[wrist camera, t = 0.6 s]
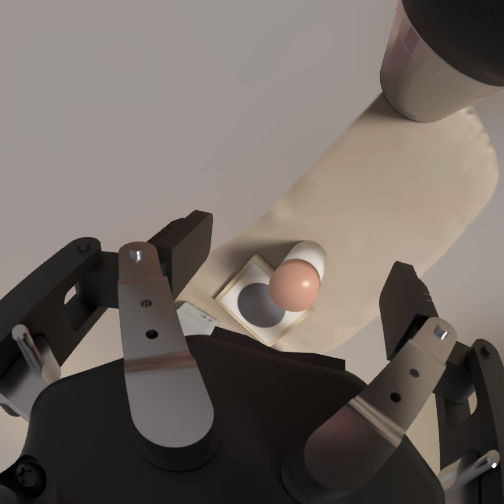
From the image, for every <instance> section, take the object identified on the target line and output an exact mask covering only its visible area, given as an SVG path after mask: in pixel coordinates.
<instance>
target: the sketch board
mask: <svg viewBox="0 0 504 504" xmlns="http://www.w3.org/2000/svg"><path fill="white" fill-rule="evenodd" d="M274 272H275V270H274V269H273V268H272V267H271V266H270V265H269V264H267V263H266V262H265V261H264V260H263V259H262V258H261V257H260V256H259V255H258V254H257V253H256V254H255V255H254V256H253V257H252V258H251V259H250V260H249V262H248V263H247V264H246V265H245V266H244V267H243V268H242V269H241V270H240V272H239V273H238V274H237V275H236V276H235V277H234V278H233V279H232V280H231V282H230V283H229V284H228V285H227V286H226V287H225V288H224V289H223V291H222V292H221V293H220V294H219V295H218V296H217V297H216V298H215V299H214V300H215V301H216V302H217V303H218V304H219V305H221V306H222V307H223V308H224V309H225V310H226V311H227V312H228V313H229V314H230V315H231V316H232V317H234V318H235V319H236V320H237V321H238V322H239V323H240V324H241V325H242V326H243V327H245V328H246V329H247V330H248V331H249V332H250V333H251V334H252V335H253V336H255V337H256V338H257V339H258V340H259V341H260V342H261V343H263V344H265V345H267V346H269V347H270V346H271V345H273V344H274V343H275V342H276V341H278V340H279V339H280V338H281V337H283V336H284V335H285V334H286V333H288V332H289V331H290V330H291V329H292V328H294V327H295V326H296V325H297V324H298V323H300V322H301V321H302V320H303V319H304V318H306V317H307V316H308V315H309V314H310V313H311V312H313V311H314V308H315V307H314V306H313V305H312V306H311V307H309V308H308V309H306V310H304V311H300V312H290V311H286V310H284V309H282V308H280V307H279V306H278V305H276V304H275V303H274V301H273V300H272V298H271V296H270V294H269V289H268V285H269V280H270V278H271V276H272V274H273V273H274Z"/></svg>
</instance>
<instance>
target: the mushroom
mask: <svg viewBox="0 0 504 504" xmlns="http://www.w3.org/2000/svg"><path fill="white" fill-rule="evenodd" d="M326 262H327V257H326V253H325V251H324V249H323V248H322V247H321V246H320V245H319V244H318V243H316V242H313V241H301V242H299V243H297V244H296V245H295V246H294V247H293V248H292V249H291V251H290V252H289V253H288V255H287V256H286V258H285V259H284V260H283V262H282V263H281V264H280V265H279V266H278V268H277V269H276V270H275V272H274V273H273V274H272V276H271V278H270V280H269V285H268V289H269V294H270V296H271V298H272V300H273V301H274V303H275V304H276V305H278V306H279V307H280V308H282V309H284V310H286V311H290V312H300V311H304V310H306V309H308V308H309V307H311V306H312V305H313V304H314V302H315V301H316V299H317V296H318V292H319V289H320V284H321V280H322V277H323V273H324V270H325V266H326Z"/></svg>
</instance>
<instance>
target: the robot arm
mask: <svg viewBox="0 0 504 504" xmlns="http://www.w3.org/2000/svg"><path fill="white" fill-rule="evenodd" d="M380 83H381V87H382V90H383V92H384V95H385V97H386V98H387V100H388V101H389V103H390V104H391V105H392V106H393V107H394V108H395V109H396V110H397V111H398V112H399V113H401V114H402V115H403V116H405V117H407V118H409V119H411V120H414V121H418V122H425V123H429V122H435V121H438V120H441V119H443V118H445V117H447V116H449V115H451V114H453V113H455V112H457V111H459V110H461V109H463V108H466V107H468V106H470V105H472V104H474V103H476V102H478V101H480V100H482V99H484V98H486V97H488V96H491V95H493V94H495V93H497V92H499V91H501V90H503V89H504V0H398V4H397V8H396V13H395V17H394V22H393V26H392V29H391V33H390V37H389V41H388V45H387V49H386V52H385V55H384V59H383V62H382V66H381V70H380ZM212 224H213V215H212V214H211V213H207V212H203V211H198V210H195V211H193V212H192V213H191V214H189V215H188V216H187V217H186V218H180V219H177V220H174V221H172V222H171V223H170V224H168V225H167V226H166V227H164V228H163V229H162V230H161V231H160V232H158V233H157V234H156V235H154V236H153V237H152V238H151V239H150V240H148V241H147V242H131V243H128V244H125V245H124V246H122V247H121V248H120V250H119V253H116V252H104V251H101V244H100V241H99V240H98V239H96V238H92V237H83V238H79V239H76V240H73V241H72V242H71V243H69V244H68V245H66V246H65V247H64V248H62V249H61V250H60V251H59V252H57V253H56V254H54V255H53V256H52V257H51V258H49V259H48V260H47V261H46V262H44V263H43V264H42V265H41V266H39V267H38V268H37V269H36V270H34V271H33V272H32V273H31V274H30V275H28V276H27V277H26V278H25V279H24V280H22V281H21V282H20V283H19V284H18V285H17V286H16V287H14V288H13V289H12V290H11V291H10V292H9V293H8V294H7V295H5V296H4V297H3V298H2V299H1V300H0V406H1V407H2V408H3V409H4V410H5V411H6V412H7V413H8V414H9V415H11V416H15V417H18V416H21V417H23V418H24V419H25V420H26V421H27V422H29V427H28V432H27V437H26V441H25V445H24V447H23V450H22V453H21V455H20V457H19V458H18V460H17V461H16V462H15V463H14V464H13V465H12V466H10V467H9V468H8V469H6V470H5V471H3V472H2V473H0V504H504V367H503V364H502V361H501V359H500V356H499V354H498V351H497V350H496V348H495V347H494V346H493V345H492V344H491V343H489V342H488V341H486V340H484V339H477V340H476V341H475V342H474V343H473V345H472V346H471V347H468V346H466V345H464V344H462V343H460V342H458V341H457V333H456V331H455V329H454V328H453V327H452V325H450V324H449V323H448V322H447V321H445V320H443V319H441V318H439V316H438V314H437V311H436V309H435V306H434V304H433V302H432V299H431V296H429V295H430V294H429V291H428V289H427V287H426V286H425V284H424V283H423V282H422V281H421V280H420V279H418V277H417V275H416V272H415V270H414V268H413V266H412V265H409V264H406V263H402V262H399V261H396V262H395V263H394V265H393V267H392V269H391V271H390V274H389V276H388V278H387V280H386V283H385V285H384V287H383V289H382V292H381V295H380V299H379V307H380V313H381V319H382V325H383V331H384V339H385V346H386V354H387V360H389V361H390V363H389V364H388V365H387V366H386V367H385V368H384V369H383V370H382V371H381V372H380V373H379V375H377V376H376V377H375V378H374V380H373V381H372V382H371V383H370V384H369V385H367V384H366V383H365V382H364V381H362V380H361V379H360V378H359V377H357V376H356V375H354V374H352V373H350V372H348V371H346V370H345V360H343V359H338V358H333V357H329V356H325V355H320V354H316V353H299V352H281V351H277V350H275V349H273V348H271V347H269V346H267V345H265V344H263V343H261V342H259V341H257V340H255V339H253V338H251V337H249V336H247V335H243V334H240V333H236V332H233V331H230V330H226V329H223V328H220V327H216V326H215V327H214V329H213V331H212V333H211V335H206V334H196V335H187V336H184V333H183V330H182V327H181V324H180V321H179V317H178V314H177V311H176V307H175V304H174V301H175V299H176V298H177V297H178V295H179V294H180V293H181V292H182V290H183V289H184V288H185V286H186V285H187V284H188V282H189V281H190V280H191V278H192V277H193V276H194V275H195V273H196V272H197V271H198V269H199V268H200V267H201V266H202V264H203V263H204V262H205V260H206V259H207V257H208V254H209V251H210V246H211V234H212ZM74 285H75V289H76V294H75V295H74V296H73V297H72V298H71V299H70V300H69V301H68V302H67V303H66V304H64V300H65V296H66V294H67V292H68V291H69V290H70V289H71V288H72V287H73V286H74ZM108 308H117V309H119V315H120V328H121V338H122V348H123V356H124V358H121V359H118V360H115V361H112V362H110V363H107V364H104V365H101V366H98V367H95V368H92V369H89V370H86V371H83V372H80V373H77V374H74V375H71V376H68V377H65V378H62V379H60V376H61V369H60V367H61V366H62V365H63V363H64V362H65V361H66V359H67V358H68V357H69V355H70V354H71V353H72V352H73V350H74V349H75V348H76V347H77V345H78V344H79V343H80V341H81V340H82V339H83V338H84V337H85V335H86V334H87V333H88V332H89V330H90V329H91V328H92V327H93V325H94V324H95V323H96V322H97V321H98V319H99V318H100V317H101V316H102V315H103V313H104V312H105V311H106V310H107V309H108ZM474 391H475V392H476V396H477V407H476V409H475V411H474V413H473V414H472V415H471V413H470V408H469V402H468V397H469V396H470V395H471V394H472V393H473V392H474ZM431 393H434V394H435V398H436V407H437V417H438V428H439V444H440V473H439V474H438V476H436V475H435V474H434V472H433V471H432V469H431V468H430V467H429V465H428V464H427V463H426V461H425V460H424V459H423V458H422V456H421V455H420V453H419V452H418V451H417V449H416V448H415V446H414V445H413V444H412V442H411V441H410V440H409V438H408V437H407V436H406V434H405V432H406V431H407V429H408V428H409V427H410V425H411V424H412V422H413V421H414V419H415V418H416V417H417V415H418V413H419V412H420V411H421V409H422V407H423V406H424V404H425V403H426V401H427V400H428V398H429V396H430V395H431Z"/></svg>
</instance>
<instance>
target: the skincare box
mask: <svg viewBox="0 0 504 504" xmlns="http://www.w3.org/2000/svg"><path fill="white" fill-rule="evenodd" d="M176 311H177V314H178V317H179V321H180V324H181V327H182V330H183V333H184V336H187V335H196V334H206V335H211V333H212V331H213V329H214V327H215V326H216V324H217V322H218V321H217V320H215V319H214V318H212V317H210V316H208V315H207V314H205V313H204V312H202V311H201V310H199V309H198V308H196V307H195V306H193V305H192V304H190V303H188V302H185V303H184V304H183V305H182V306H181V307H180V308H179V309H178V310H176Z"/></svg>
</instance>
